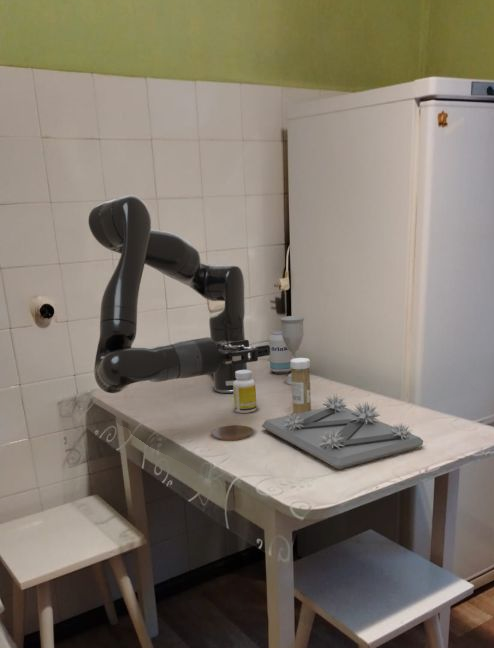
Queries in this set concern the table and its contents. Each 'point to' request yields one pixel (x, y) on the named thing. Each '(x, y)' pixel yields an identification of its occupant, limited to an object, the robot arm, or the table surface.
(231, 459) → the table surface
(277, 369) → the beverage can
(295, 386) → the sprinkles bottle
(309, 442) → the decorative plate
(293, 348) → the chalice
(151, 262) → the robot arm
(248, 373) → the supplement bottle
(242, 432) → the coaster
